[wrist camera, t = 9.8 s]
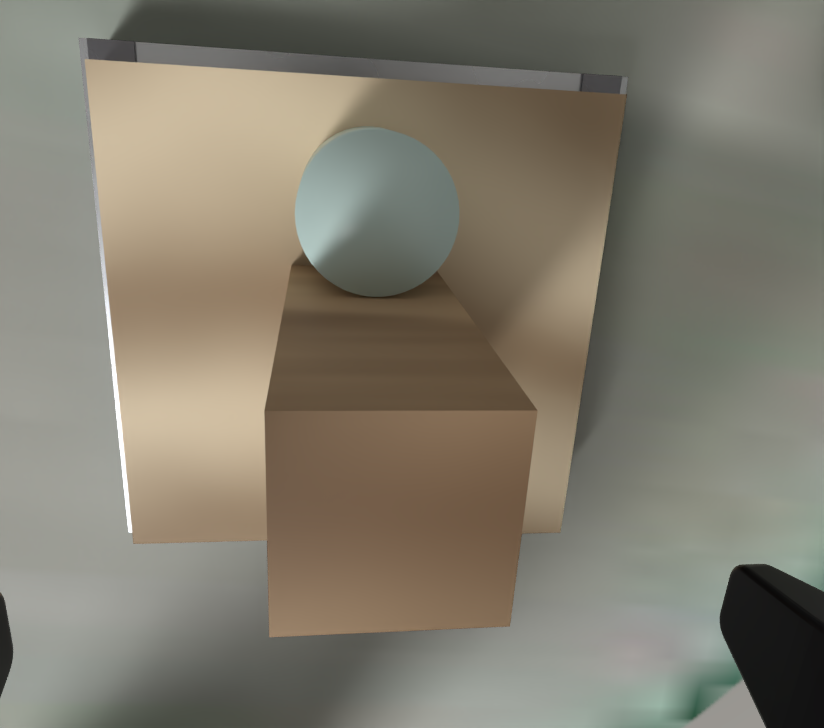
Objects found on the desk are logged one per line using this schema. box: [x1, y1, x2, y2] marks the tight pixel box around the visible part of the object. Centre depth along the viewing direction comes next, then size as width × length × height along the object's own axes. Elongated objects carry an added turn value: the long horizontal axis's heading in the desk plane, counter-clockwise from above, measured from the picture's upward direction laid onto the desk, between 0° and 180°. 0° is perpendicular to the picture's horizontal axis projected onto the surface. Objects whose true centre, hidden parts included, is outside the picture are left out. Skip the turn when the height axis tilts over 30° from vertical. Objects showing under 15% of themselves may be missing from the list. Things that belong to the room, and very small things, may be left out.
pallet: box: [85, 59, 627, 637], centre depth 14 cm, size 12×12×10 cm
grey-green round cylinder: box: [295, 126, 460, 297], centre depth 15 cm, size 3×3×3 cm
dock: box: [79, 38, 628, 533], centre depth 19 cm, size 13×13×2 cm
